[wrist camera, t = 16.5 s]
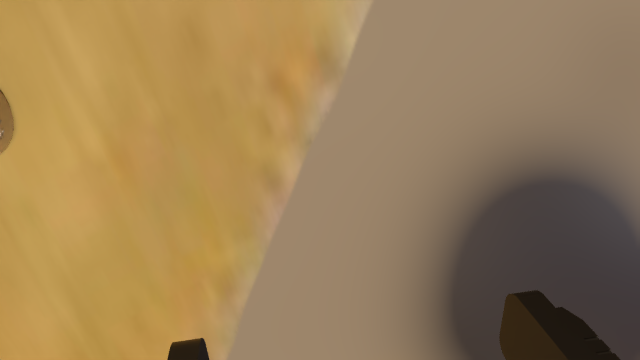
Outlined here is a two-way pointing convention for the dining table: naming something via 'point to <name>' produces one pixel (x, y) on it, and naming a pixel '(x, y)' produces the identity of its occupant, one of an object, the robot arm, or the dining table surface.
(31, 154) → the dining table surface
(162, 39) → the dining table surface
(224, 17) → the dining table surface
